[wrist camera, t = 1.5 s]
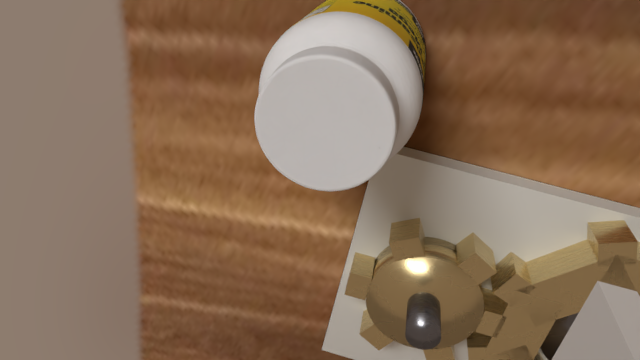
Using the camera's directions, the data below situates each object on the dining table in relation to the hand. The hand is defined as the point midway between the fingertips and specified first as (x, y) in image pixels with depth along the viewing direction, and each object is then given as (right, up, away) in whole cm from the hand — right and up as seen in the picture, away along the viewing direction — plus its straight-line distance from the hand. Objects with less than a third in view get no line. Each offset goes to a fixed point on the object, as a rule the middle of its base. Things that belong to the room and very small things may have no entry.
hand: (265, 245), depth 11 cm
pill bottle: (+3, +8, +15) cm, 18 cm away
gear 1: (+7, -5, +19) cm, 21 cm away
